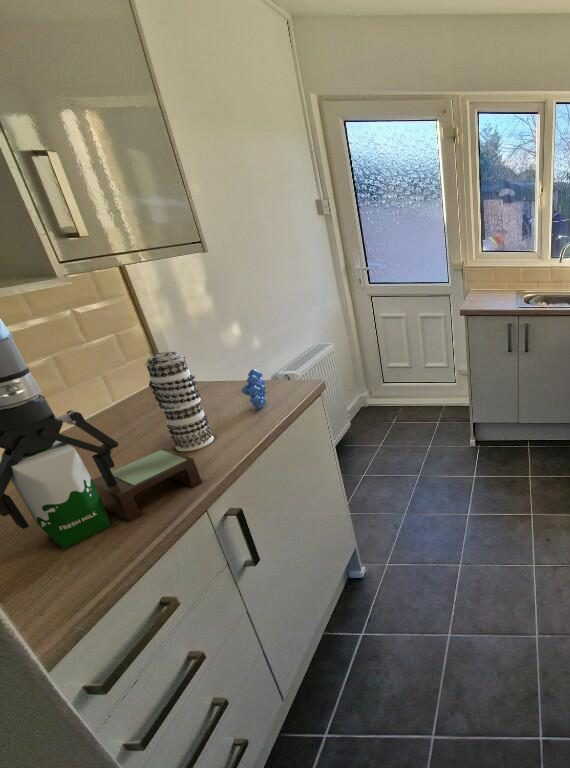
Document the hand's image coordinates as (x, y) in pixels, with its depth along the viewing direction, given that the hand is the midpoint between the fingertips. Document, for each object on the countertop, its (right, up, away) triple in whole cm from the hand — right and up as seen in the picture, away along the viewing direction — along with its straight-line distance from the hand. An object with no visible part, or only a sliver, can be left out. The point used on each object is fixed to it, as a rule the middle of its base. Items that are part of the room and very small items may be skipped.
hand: (70, 503), depth 79 cm
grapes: (+3, +15, +53) cm, 55 cm away
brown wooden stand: (+5, -2, +13) cm, 14 cm away
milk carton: (0, -6, +2) cm, 7 cm away
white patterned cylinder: (-1, +7, +33) cm, 33 cm away
